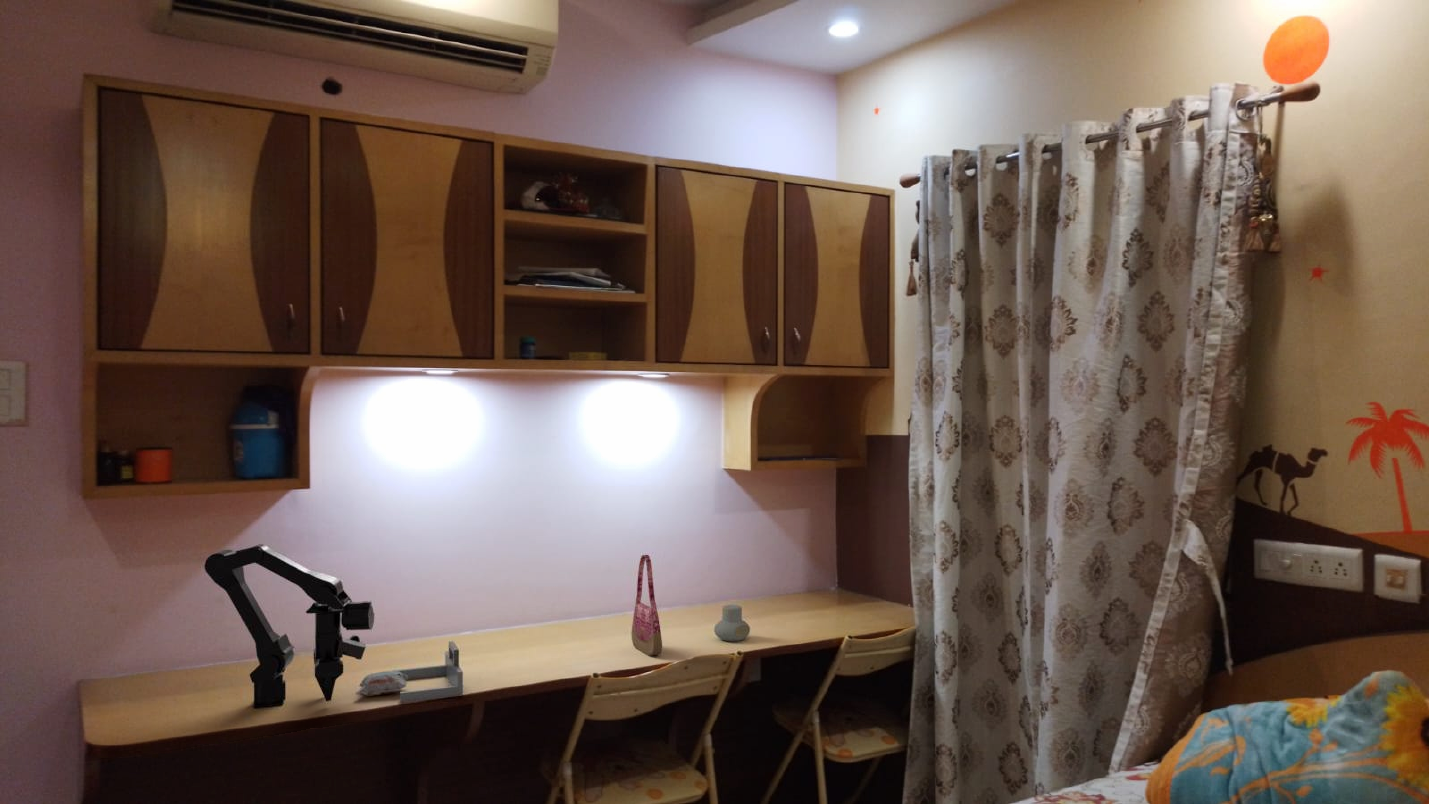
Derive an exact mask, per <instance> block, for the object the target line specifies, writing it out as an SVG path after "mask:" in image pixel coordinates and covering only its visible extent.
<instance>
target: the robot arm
mask: <svg viewBox="0 0 1429 804" xmlns="http://www.w3.org/2000/svg"><path fill="white" fill-rule="evenodd" d="M252 564H256V565H258V566H260V567H262V568H265V569H266V570H268V571H270V572H272V573H274V574H276V575H277V576H279V577H281V578H283V579H285V580H287V581H289V582H290V583H293V584H294V585H296V586H297V587H299V588H300V589H301V590H302V591H303V592H304V593H305V594H306V596H308V597H309V598H310V599H311V600H313V601H314V602H313V603H312V604H311V605H310V607H309V608H308V609H306V611H305V614H309V615H310V614H314V623H315V625H314V630H315V631H314V640H315V642H314V643H315V645H314V649H313V664H314V678H315V680H316V682H317V684H318V686H319V688H320V690H321V692H322V694H323V697H324V699H325V700H324V701H326V702H330V701H332V699H333V694H334V689H335V684H336V680H338V678H340V677H341V676H342V675H343V674H344V662H343V660H341V658H343V656H346V657H351V658H355V659H356V660H358V661H359V660H362V658H363V656H364V653H365V650H366V647H367V646H366V644H365V643H364V642H363V641H360V636H359V635H356V634H353V635H351V636H350V637H349V638H343V633H342V632H341V630H342V629H341V627H343V628H344V629H345V630H346V631H367V630H368V631H372V630H373V627H374V622H375V612H374V607H373V606H372V601H371V600H363V601H353V599H352V598H351V597H350V596H349V594H347V592H346V591H345V590H344V586H343V582H342V580H341V579H339V578H338V577H336V576H332V575H330V574H327V573H323V572H318V571H317V572H316V571H313V570H310V569H308V568H306V567H305V566H303V565H302V564H299V563H297V562H296V561H293V560H292V559H290V558H288V557H286V556H284V555H283V554H280V553H279V552H276V551H275V550H273V549H271V548H270V547H268V546H267V545H266V544H263V543H259V544H257V545H255V546H251V547H247V548H244V549H240V550H239V549H238V550H231V549H224V550H219V551H218V552H215V553H213V554H211V555H209V556H208V557H207V558H206V560H205V562H204V566H203V567H204V570H205V572H206V573H207V574H206V575H208V576H209V577H210V579H211V580H212V581H213V582H214V583H215V584H216V585H218V586H219V587H220V588H221V589H223V590H224V591H225V592H226V594H227V596H228V597H229V599H230V601H231V602H232V604H233V606H234V608H235V610H236V611H237V612H238V615H239V617H240V618H241V620H242V622H243V623H244V625H245V627H246V629H247V630H248V633H249V634H250V637H252V640H253V641H254V643H255V644H254V645H255V651H256V656H257V657H256V658H257V661H258V663H259V665H257V666H256V668H255V669H253V670H252V672H250V674H249V678H250V680H251V683H253V702H252V703H253V705H252V707H253V708H252V709H257V708H258V709H259V708H266V707H276V706H283V705H284V701H285V700H286V698H287V697H286V696H287V695H286V694H287V693H286V688H287V686H286V685H287V684H286V680H284V674H283V673H285V671H286V668H287V667H288V666H289V665H291V663H292V662H293V660H294V658H295V652H294V650H293V649H295V646H294V645H293V644H292V643H291V642H290V640H289V637H288V635H287V633H284V634H283V635H281V636H280V635H279V634H278V633H276V632H275V631H274V630H273V628H272V626H271V623H270V622H269V621H268V619H267V617H266V615H265V613H264V612H263V610H262V609H261V606H260V605H259V604H258V602H257V600H256V598H255V596H254V594H253V593H252V591H251V589H250V588H249V586H248V584H247V582H246V580H245V570H244V566H248V565H252Z"/></svg>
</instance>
